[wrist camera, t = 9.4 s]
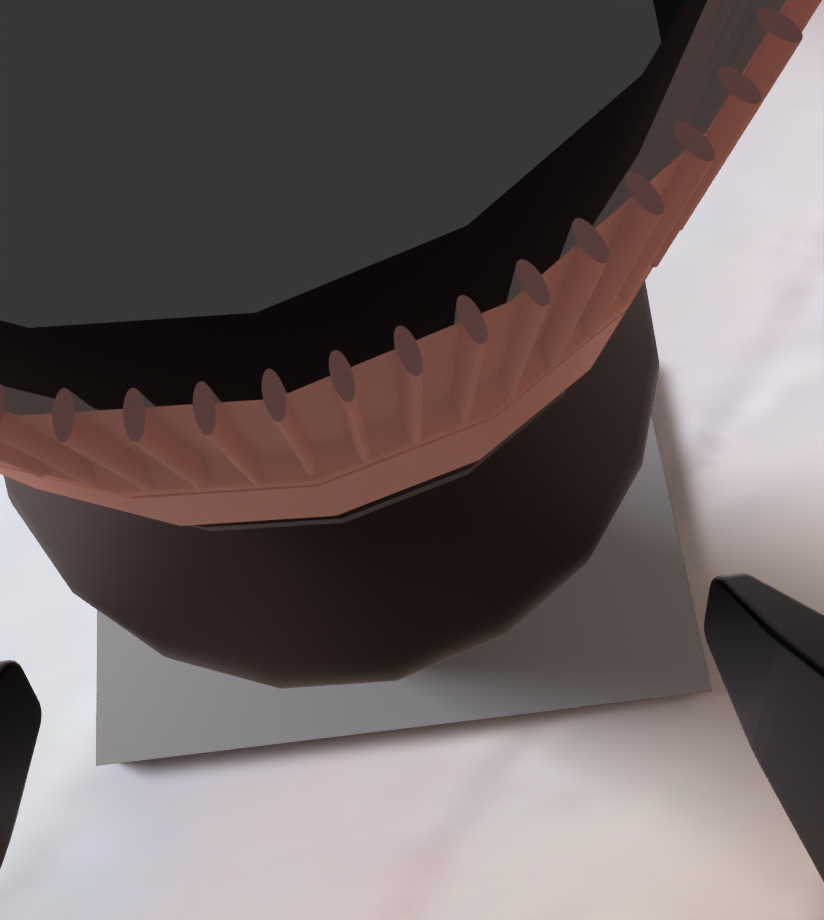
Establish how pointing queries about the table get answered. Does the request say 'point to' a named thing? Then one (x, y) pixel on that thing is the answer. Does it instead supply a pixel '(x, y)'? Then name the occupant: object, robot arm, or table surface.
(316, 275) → the vinegar
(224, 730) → the gray board
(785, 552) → the table surface
